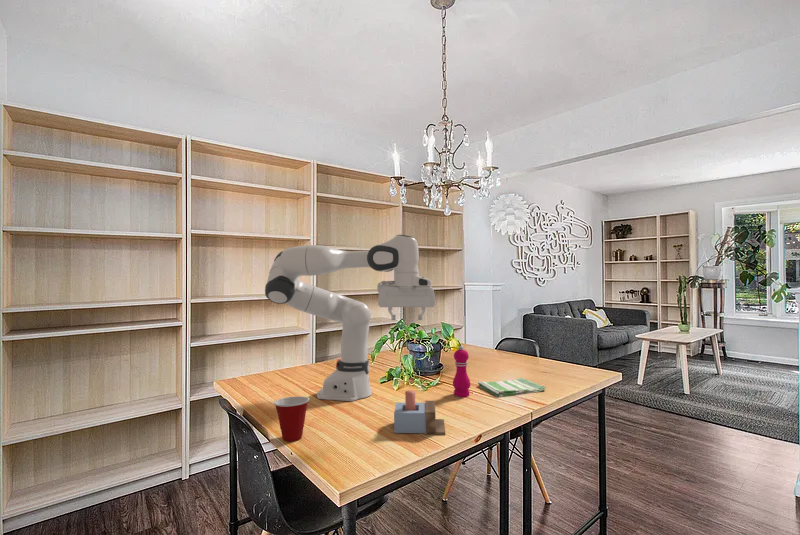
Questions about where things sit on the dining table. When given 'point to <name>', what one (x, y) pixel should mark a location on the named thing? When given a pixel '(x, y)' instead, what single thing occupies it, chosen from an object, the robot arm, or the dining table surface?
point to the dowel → (410, 400)
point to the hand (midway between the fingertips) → (406, 319)
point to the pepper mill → (461, 373)
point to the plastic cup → (291, 416)
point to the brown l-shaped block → (433, 421)
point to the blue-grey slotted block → (410, 419)
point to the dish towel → (511, 387)
